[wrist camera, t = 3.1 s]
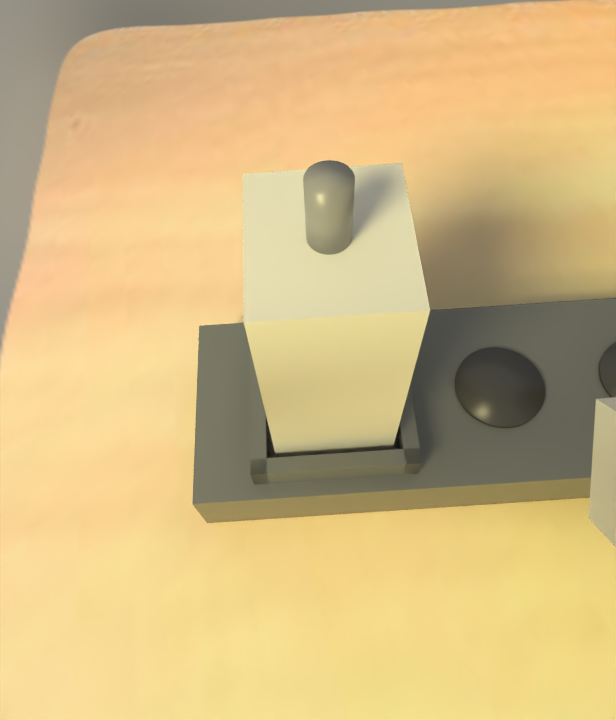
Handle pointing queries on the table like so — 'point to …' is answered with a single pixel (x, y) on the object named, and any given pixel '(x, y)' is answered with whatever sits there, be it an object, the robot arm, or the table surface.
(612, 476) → the robot arm
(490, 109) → the table surface
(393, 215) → the white block with knob
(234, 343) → the power strip
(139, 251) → the table surface
